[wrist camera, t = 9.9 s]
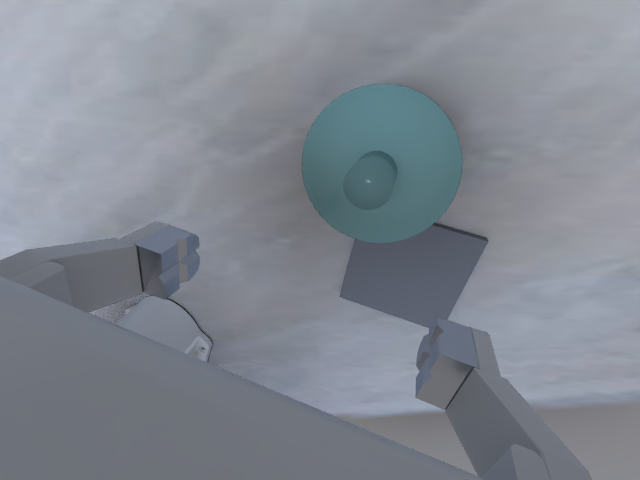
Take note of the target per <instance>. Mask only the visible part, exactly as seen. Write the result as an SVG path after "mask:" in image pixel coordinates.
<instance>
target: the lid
mask: <svg viewBox="0 0 640 480" xmlns="http://www.w3.org/2000/svg"><path fill="white" fill-rule="evenodd" d="M461 173H462V153H461V146H460V142H459V138H458V135H457V133H456V131H455V128H454V126H453V124H452V123H451V121H450V120H449V118H448V116H447V115H446V114H445V113H444V111H443V110H442V109H441V108H440V107H439V106H438V105H437V104H436V103H435V102H434V101H433V100H431V99H430V98H429V97H427V96H425V95H424V94H422V93H421V92H418V91H416V90H414V89H411V88H408V87H405V86H401V85H394V84H373V85H367V86H362V87H359V88H356V89H353V90H351V91H349V92H347V93H345V94H343V95H341V96H340V97H338V98H337V99H335V100H334V101H332V102H331V103H330V104H329V105H328V106H327V107H326V108H325V109H324V110H323V111H322V112H321V113H320V115H319V116H318V117H317V119H316V120H315V122H314V123H313V125H312V127H311V129H310V131H309V133H308V135H307V138H306V141H305V144H304V149H303V154H302V175H303V181H304V185H305V188H306V191H307V194H308V196H309V198H310V201H311V202H312V204H313V206H314V207H315V209H316V210H317V211H318V213H319V214H320V215H321V216H322V217H323V219H324V220H325V221H326V222H327V223H329V224H330V225H331V226H332V227H334V228H335V229H337V230H338V231H340V232H341V233H343V234H345V235H347V236H349V237H352V238H355V239H358V240H361V241H366V242H373V243H389V242H396V241H400V240H404V239H407V238H410V237H412V236H415V235H417V234H419V233H421V232H422V231H424V230H425V229H427V228H428V227H430V226H431V225H432V224H434V223H435V222H436V221H437V220H438V219H439V218H440V217H441V216H442V215H443V213H444V212H445V211H446V210H447V208H448V207H449V205H450V204H451V202H452V200H453V198H454V196H455V194H456V192H457V189H458V186H459V183H460V178H461Z"/></svg>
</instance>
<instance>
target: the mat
mask: <svg viewBox="0 0 640 480" xmlns="http://www.w3.org/2000/svg"><path fill="white" fill-rule="evenodd" d="M487 243H488V240H487V238H484V237H481V236H477V235H474V234H470V233H467V232H463V231H460V230H456V229H453V228H449V227H446V226H442V225H439V224H435V223H434V224H432V225H431V226H430V227H428V228H427V229H425V230H424V231H422V232H421V233H419V234H417V235H415V236H412V237H410V238H407V239H404V240H400V241H396V242H389V243H373V242H366V241H361V240H358V239H355V242H354V246H353V249H352V253H351V257H350V260H349V264H348V267H347V271H346V275H345V278H344V282H343V286H342V289H341V293H340V297H342V298H344V299H347V300H350V301H353V302H356V303H359V304H362V305H364V306H367V307H370V308H373V309H376V310H379V311H382V312H385V313H387V314H390V315H393V316H396V317H399V318H402V319H405V320H408V321H410V322H413V323H416V324H419V325H422V326H425V327H428V328H429V325H430V323H431V321H432V319H433V318H434V317H435V316H437V317H440V318H443V319H446V320H447V319H448V317H449V315H450V313H451V311H452V309H453V307H454V305H455V303H456V302H457V300H458V298H459V296H460V294H461V292H462V290H463V288H464V286H465V285H466V283H467V281H468V279H469V277H470V275H471V273H472V271H473V269H474V267H475V266H476V264H477V262H478V260H479V258H480V256H481V254H482V252H483V250H484V248H485V247H486V245H487Z"/></svg>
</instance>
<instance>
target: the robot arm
mask: <svg viewBox="0 0 640 480" xmlns="http://www.w3.org/2000/svg"><path fill="white" fill-rule="evenodd" d="M198 247H199V237H198V236H197V235H196V234H193V233H190V232H187V231H185V230H182V229H179V228H176V227H174V226H170V225H168V224H165V223H162V222H154V223H151V224H149V225H147V226H145V227H143V228H141V229H139V230H137V231H135V232H133V233H131V234H129V235H127V236H125V237H123V238H121V239H116V238H112V239H105V240H97V241H90V242H82V243H74V244H67V245H59V246H52V247H44V248H36V249H29V250H25V251H22V252H20V253H17V254H15V255H12V256H10V257H7V258H5V259H3V260H0V480H592V478H591V476H590V474H589V471H588V470H587V469H586V468H585V467H584V466H583V465H582V463H581V462H580V461H579V460H578V459H577V458H576V457H575V456H574V454H573V453H572V452H571V451H570V450H569V449H568V448H567V447H566V445H564V443H563V442H562V441H561V440H560V439H559V438H558V436H557V435H556V434H555V433H554V432H553V431H552V430H551V429H550V427H549V426H548V425H547V424H546V423H545V422H544V421H543V420H542V418H541V417H540V416H539V415H538V414H537V413H536V412H535V411H534V409H533V408H532V407H531V406H530V405H529V404H528V403H527V402H526V400H525V399H524V398H523V397H522V396H521V395H520V394H519V393H518V391H517V390H516V389H515V388H514V387H513V386H512V385H511V384H510V382H509V381H508V380H507V379H505V378H502V377H501V375H500V372H499V368H498V364H497V360H496V357H495V353H494V349H493V346H492V342H491V338H490V335H489V334H488V333H487V332H484V331H481V330H478V329H475V328H472V327H467V326H464V325H461V324H458V323H455V322H452V321H449V320H446V319H443V318H440V317H437V316H435V317H434V318H433V319H432V321H431V323H430V325H429V334H427V335H425V336H424V337H423V339H422V341H421V343H420V346H419V350H418V354H417V363H416V366H417V368H418V369H419V373H418V375H417V377H416V398H418V399H420V400H422V401H425V402H427V403H430V404H432V405H434V406H437V407H439V408H442V409H444V410H446V411H445V412H446V414H447V416H448V418H449V420H450V422H451V424H452V426H453V428H454V430H455V432H456V434H457V436H458V438H459V440H460V442H461V443H462V445H463V447H464V449H465V451H466V453H467V455H468V457H469V459H470V461H471V463H472V465H473V467H474V469H475V471H476V472H477V475H478V476H476V475H474V474H472V473H469V472H467V471H464V470H462V469H460V468H457V467H454V466H453V465H450V464H448V463H445V462H443V461H441V460H438V459H435V458H434V457H431V456H429V455H426V454H424V453H421V452H419V451H417V450H414V449H412V448H410V447H407V446H405V445H403V444H400V443H397V442H395V441H393V440H390V439H388V438H386V437H383V436H381V435H379V434H376V433H374V432H372V431H369V430H367V429H364V428H362V427H360V426H357V425H354V424H352V423H350V422H348V421H345V420H343V419H341V418H338V417H336V416H333V415H331V414H329V413H326V412H324V411H322V410H319V409H317V408H314V407H312V406H310V405H307V404H305V403H302V402H300V401H298V400H295V399H293V398H291V397H288V396H286V395H283V394H281V393H279V392H276V391H274V390H271V389H269V388H267V387H264V386H262V385H260V384H257V383H255V382H252V381H250V380H248V379H245V378H243V377H240V376H238V375H236V374H233V373H231V372H229V371H226V370H224V369H221V368H219V367H217V366H214V365H212V364H210V363H207V361H208V358H209V354H210V351H211V347H212V342H211V340H210V339H209V338H208V337H207V336H206V335H205V334H204V333H203V332H202V331H201V330H200V329H199V328H198V326H197V324H196V323H195V321H194V320H193V319H192V318H191V316H190V315H189V314H188V313H187V312H186V311H185V310H184V309H182V308H181V307H180V306H178V305H177V304H175V303H174V302H172V301H170V300H168V299H167V298H168V297H169V296H170V295H172V294H173V293H174V292H175V291H177V290H178V289H179V285H180V283H183V282H187V281H189V280H190V279H191V278H192V277H193V276H194V275H195V273H196V272H197V270H198V267H199V263H200V257H199V255H198V253H197V252H196V249H197V248H198ZM143 292H144V293H147V294H150V295H153V296H148V297H145V298H143V299H142V300H141V301H140V302H139V303H138V304H137V305H134V306H130V307H129V308H128V309H127V310H126V311H125V316H123V317H122V318H121V319H120V320H119V321H118V322H117V323H116V324H114V323H112V322H109V321H107V320H105V319H102V318H100V317H97V316H95V315H93V314H90V313H88V312H91V311H94V310H97V309H100V308H103V307H105V306H108V305H111V304H114V303H117V302H119V301H122V300H125V299H128V298H131V297H133V296H136V295H139V294H142V293H143Z"/></svg>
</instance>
